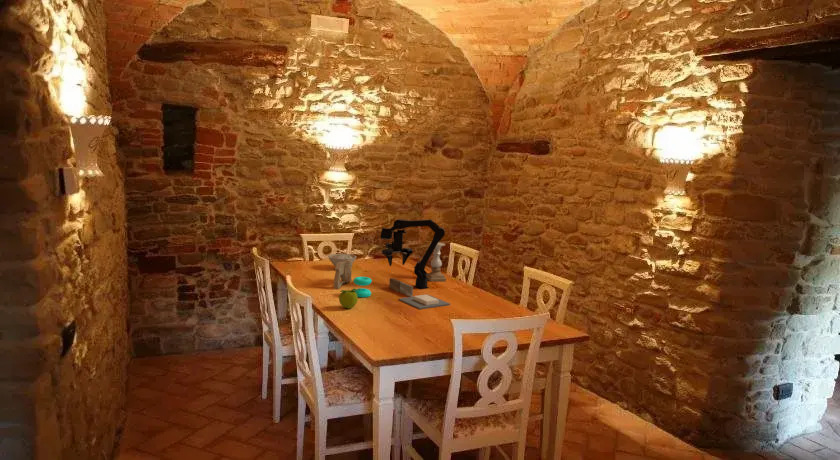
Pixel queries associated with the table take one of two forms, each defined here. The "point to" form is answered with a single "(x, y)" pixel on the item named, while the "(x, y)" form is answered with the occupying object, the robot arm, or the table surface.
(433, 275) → the candle holder
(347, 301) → the fruit
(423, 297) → the tile
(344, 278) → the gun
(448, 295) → the table surface
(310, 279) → the table surface
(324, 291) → the table surface
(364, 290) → the donuts
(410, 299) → the grey square plate
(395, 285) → the brown upright panel
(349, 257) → the bowl
